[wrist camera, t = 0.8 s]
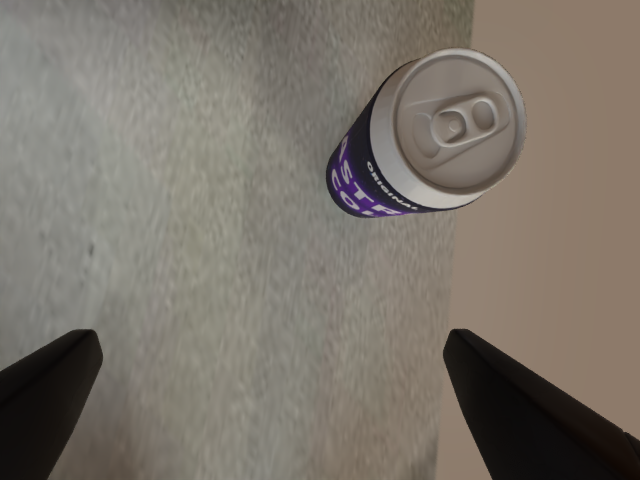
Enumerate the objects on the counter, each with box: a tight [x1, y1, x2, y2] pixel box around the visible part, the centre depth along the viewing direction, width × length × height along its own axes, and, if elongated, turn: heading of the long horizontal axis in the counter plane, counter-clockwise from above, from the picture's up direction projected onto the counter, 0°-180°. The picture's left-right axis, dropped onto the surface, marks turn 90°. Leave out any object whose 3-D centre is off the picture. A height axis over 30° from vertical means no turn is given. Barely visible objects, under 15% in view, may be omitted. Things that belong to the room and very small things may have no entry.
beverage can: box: [326, 47, 527, 218], centre depth 16 cm, size 6×6×12 cm
